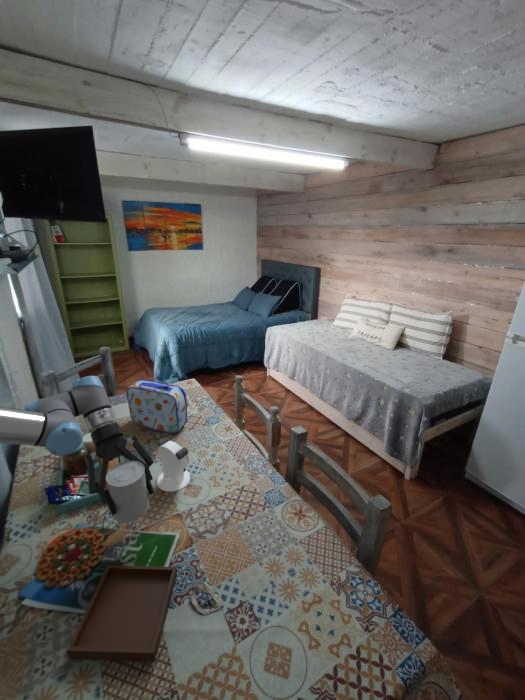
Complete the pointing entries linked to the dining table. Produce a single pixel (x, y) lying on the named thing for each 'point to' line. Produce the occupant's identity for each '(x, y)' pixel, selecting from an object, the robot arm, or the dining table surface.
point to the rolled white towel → (128, 490)
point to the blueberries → (205, 598)
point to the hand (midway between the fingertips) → (133, 503)
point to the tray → (125, 615)
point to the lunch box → (158, 405)
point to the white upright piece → (172, 466)
